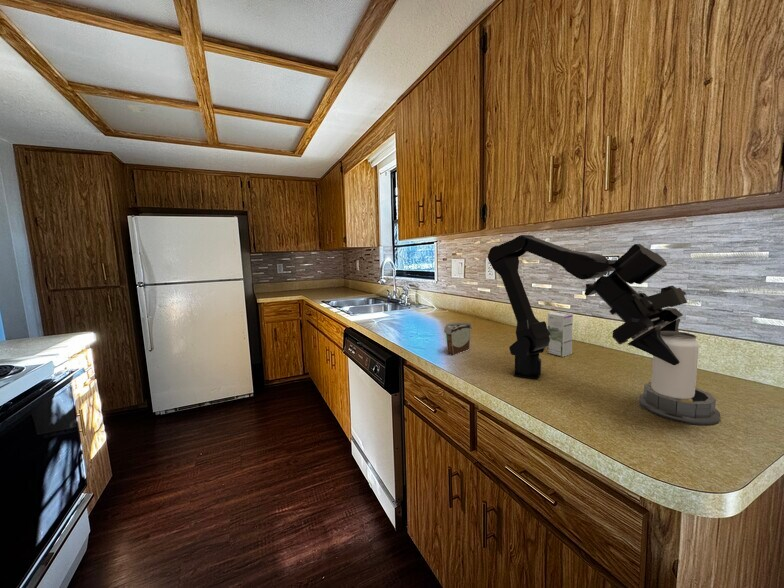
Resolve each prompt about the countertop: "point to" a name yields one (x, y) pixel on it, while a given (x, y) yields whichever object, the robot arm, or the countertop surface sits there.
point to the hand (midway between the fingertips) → (683, 360)
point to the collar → (681, 407)
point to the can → (676, 367)
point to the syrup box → (560, 333)
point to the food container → (458, 337)
